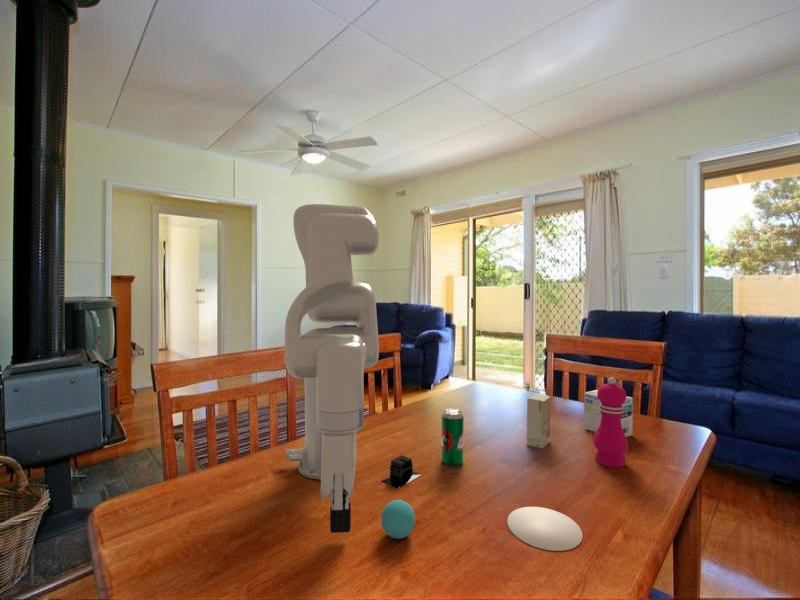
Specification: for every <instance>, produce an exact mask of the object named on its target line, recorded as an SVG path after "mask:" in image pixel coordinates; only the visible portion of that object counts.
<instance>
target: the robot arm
mask: <svg viewBox="0 0 800 600" xmlns="http://www.w3.org/2000/svg"><path fill="white" fill-rule="evenodd" d="M293 230H294V231H293V232H294V236H295V237H294V238H295V240H296V244H297V246H298V250H299V252H300V254H301V256H302V259H303V262H304V267H305V288H304V289H302V290H301V291H300V293H299V294H298V295H297V296H296V297H295V298H294V300H293V302H292V303H291V304H290V307H289V309H288V312H287V313H286V317H285V324H284V362H285V363H284V364H285V367H286V370H287V372H288V373H289V375H290V376H292V377H294V378H296V379H304V380H303V381H304V382H303V383H304V445H303V446H301V447H299V448H286V449H285V453H284V454H285V459H288V461H289V462H298V465H297V470H298V472H299V473H300V475H302V476H303V477H304V478H305V477H306V478H307V479H312V480H313V479H314V480H320V498H321V499H322V500H325V499H328V498H329V496H330V507H329V508H330V509H329V520H330V521H329V527H330V528H329V529H330V533H332V534H336V533H338V534H339V533H350V531H351V525H352V521H351V519H352V518H351V514H352V512H351V511H352V508H351V507H352V506H351V505H352V504H351V501H350V498H351V497H352V496H353V489H354V484H355V483H354V482H355V475H356V473H355V472H356V459H357V432H359V431H361V430H362V429H363V428H364V424H365V423H364V422H365V420H364V418H365V417H364V413H365V412H364V405H365V404H364V401H365V399H364V389H365V388H364V386H365V385H364V369H370V368H373V367H375V366H376V364H377V363H378V360H379V354H380V342H379V330H378V329H379V328H378V327H379V326H378V316H377V303H376V302H377V301H376V295H375V292H374V289H373V288H372V287H371V286H370V284H368V283H365V282H361V281H360V282H359V281H358V282H356V281H355V282H354V275H353V265H352V264H353V263H352V256H371V255H374V254H375V253H376V251H377V249H378V247H379V242H380V238H379V237H380V234H379V228H378V225H377V222H376V219H375V218H374V216H373V214H372V213H371V212H370V211H369V210H368V209H367V208H366V207H364V206H358V205H357V206H356V205H340V204H338V205H337V204H324V203H311V204H305V205H301V206H298V208H296V209H295V211H294V213H293ZM305 315H308V318H309V319H310V320H311V321H312V322H315V323H322V324H336V323H337V324H339V323H341V324H342V323H345V324H346V323H352V324H355V326H356V327H355V326H353V327H349V326H348V327H342V326H341V327H318V328H313V329H310V330H308V331H307V332H305V333H303V334H301V329H302V328H301V325H302V322H303V319H304V318H305Z"/></svg>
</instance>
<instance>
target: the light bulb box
mask: <svg viewBox="0 0 800 600" xmlns="http://www.w3.org/2000/svg"><path fill="white" fill-rule="evenodd" d="M597 391H598V389H595V390H590V391H586V392H584V396H583V397H584V398H583V399H584V405H583V406H584V407H583V408H584V409H583V410H584V412H583V413H584V414H583V429H584V428H585V429H584V430H587V429H588V430H587V431H590V430H591V432H593V431H594V433H596V431H597V429H598V427H599V425H600V423H601V416H602V414H601V410H600V409H599V407H600V405H599V404H600V403H601V401H600V400H599V399H598V396H597ZM633 402H634V398H633V397H631V396H627V395H626V401H625V402H624V403H623V404H622V406H623V407H624V408H623V411H624V412H623V413H621V425H622V428H623V431H624V433H625V436H626V437H627V438H628V436H629V437H631V435H632V436H633V413H634V412H633V408H634V407H633V405H634V403H633Z"/></svg>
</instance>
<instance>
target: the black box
mask: <svg viewBox="0 0 800 600" xmlns="http://www.w3.org/2000/svg"><path fill="white" fill-rule="evenodd" d="M413 467H414V466H413V459H412V458H410V457H407V456H404V455H400V456H398V457H396V458H393V459H391V460H390V465H389V476H387V477H385V478H384V479H382V480H380V482H381V483H382V484H385V485H388V486H389V487H392V488H395V489H397V490H398V489H399V490H400V489H401V488H402V487H403V486H406V485H407V484H408V483H410V482H412V481H413V480H415V479H416V478H418V477H420V476H422V473H419V472H417V471H414V470H413Z"/></svg>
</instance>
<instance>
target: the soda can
mask: <svg viewBox="0 0 800 600" xmlns="http://www.w3.org/2000/svg"><path fill="white" fill-rule="evenodd" d="M464 419H465V418H464V415H463V411H462V410H460V409H458V408H446V409H444V410H443V411H442V414H441V462H442V463H443V464H444V465H446V466H449V467H457V466H460V465H462V463H463V462H464V425H465V423H464V421H465V420H464Z"/></svg>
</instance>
